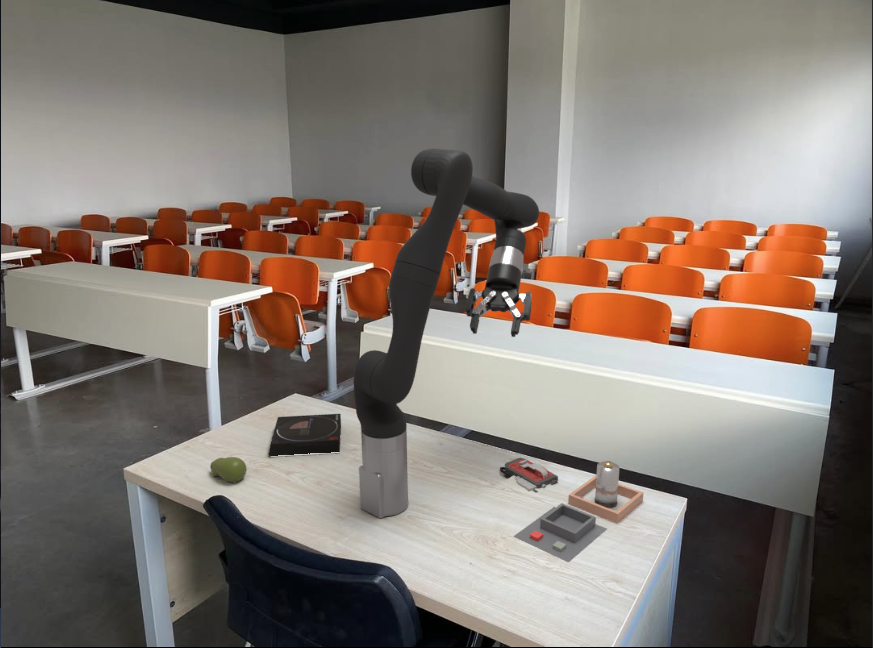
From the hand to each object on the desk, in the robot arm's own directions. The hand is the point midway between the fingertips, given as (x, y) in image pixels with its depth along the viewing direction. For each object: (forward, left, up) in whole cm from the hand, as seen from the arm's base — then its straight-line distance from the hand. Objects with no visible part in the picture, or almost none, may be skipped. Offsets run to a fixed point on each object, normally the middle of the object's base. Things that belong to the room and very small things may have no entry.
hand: (493, 333), depth 142 cm
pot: (+4, -26, -34) cm, 43 cm away
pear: (-40, +45, -34) cm, 69 cm away
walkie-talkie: (+2, -11, -34) cm, 36 cm away
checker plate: (-11, -25, -34) cm, 44 cm away
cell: (+4, -26, -33) cm, 43 cm away
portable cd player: (-17, +47, -34) cm, 60 cm away
